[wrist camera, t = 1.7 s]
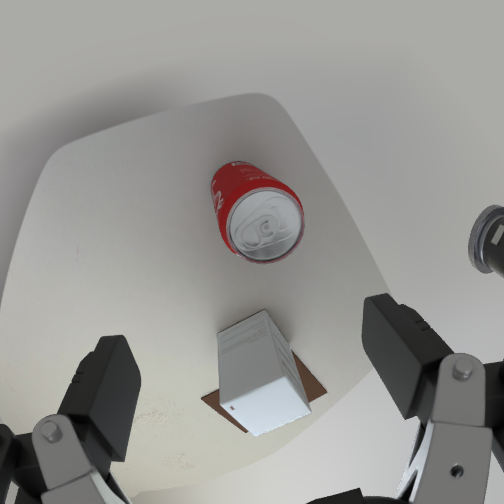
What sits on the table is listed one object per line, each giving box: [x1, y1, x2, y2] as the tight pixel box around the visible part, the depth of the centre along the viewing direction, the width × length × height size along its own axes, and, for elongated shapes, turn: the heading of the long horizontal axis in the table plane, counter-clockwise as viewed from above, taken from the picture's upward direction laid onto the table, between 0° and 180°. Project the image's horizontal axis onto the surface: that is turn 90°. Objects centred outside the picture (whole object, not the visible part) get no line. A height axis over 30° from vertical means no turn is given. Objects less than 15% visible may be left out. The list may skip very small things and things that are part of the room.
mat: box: [201, 350, 327, 433], centre depth 45 cm, size 16×12×1 cm
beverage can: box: [211, 161, 305, 264], centre depth 26 cm, size 6×6×15 cm
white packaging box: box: [217, 310, 312, 436], centre depth 35 cm, size 7×7×13 cm
